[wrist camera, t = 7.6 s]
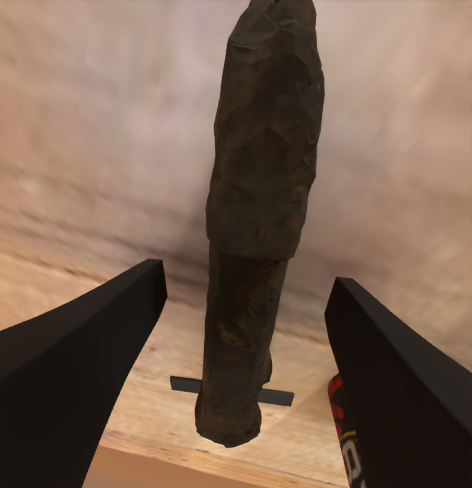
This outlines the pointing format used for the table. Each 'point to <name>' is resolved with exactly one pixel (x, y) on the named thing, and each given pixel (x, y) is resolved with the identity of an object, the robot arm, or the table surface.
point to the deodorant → (346, 433)
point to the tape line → (263, 396)
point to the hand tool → (256, 204)
